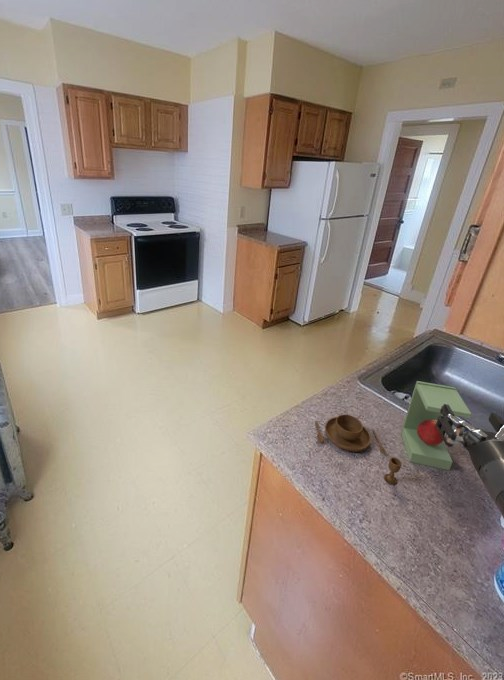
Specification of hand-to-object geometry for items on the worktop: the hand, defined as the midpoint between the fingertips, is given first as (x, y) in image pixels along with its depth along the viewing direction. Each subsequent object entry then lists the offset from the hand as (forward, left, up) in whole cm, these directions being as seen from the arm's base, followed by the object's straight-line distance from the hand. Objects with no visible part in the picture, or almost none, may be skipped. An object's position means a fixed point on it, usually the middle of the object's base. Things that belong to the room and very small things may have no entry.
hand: (467, 411), depth 67 cm
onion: (-1, -11, -20) cm, 23 cm away
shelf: (-1, -11, -23) cm, 25 cm away
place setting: (+18, -8, -23) cm, 30 cm away
